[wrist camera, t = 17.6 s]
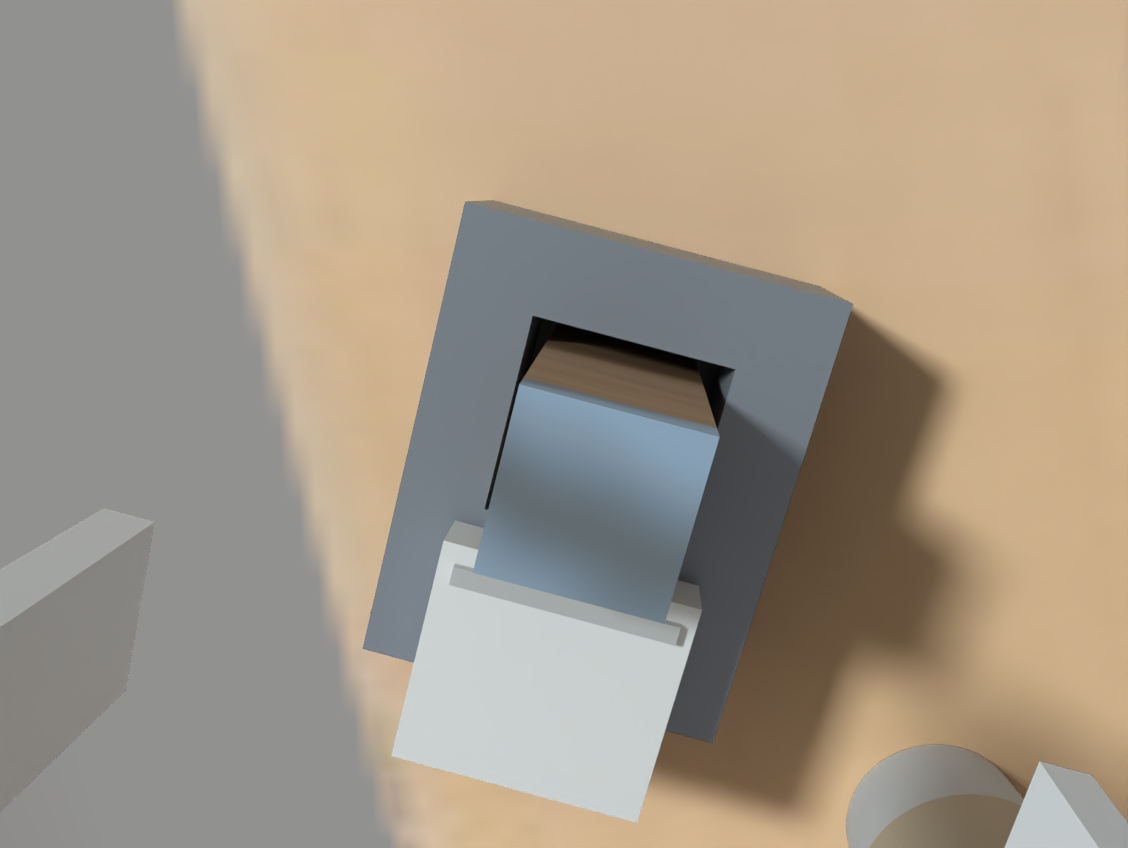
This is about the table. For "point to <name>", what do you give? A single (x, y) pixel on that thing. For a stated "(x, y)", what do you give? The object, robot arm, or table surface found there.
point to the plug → (600, 474)
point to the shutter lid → (542, 686)
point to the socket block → (639, 316)
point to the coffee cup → (933, 802)
